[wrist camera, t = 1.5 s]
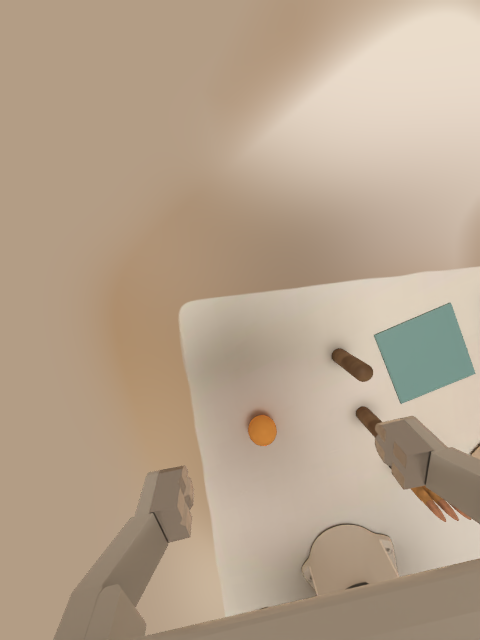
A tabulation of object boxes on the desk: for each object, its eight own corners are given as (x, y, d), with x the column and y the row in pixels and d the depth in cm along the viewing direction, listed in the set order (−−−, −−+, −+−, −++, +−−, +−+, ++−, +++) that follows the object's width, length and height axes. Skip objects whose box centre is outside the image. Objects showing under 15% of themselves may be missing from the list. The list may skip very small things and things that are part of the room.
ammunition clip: (388, 466, 46) (438, 527, 34) (388, 457, 46) (438, 516, 34) (445, 461, 46) (515, 521, 34) (445, 452, 46) (516, 509, 34)
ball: (278, 428, 45) (283, 445, 41) (254, 438, 46) (255, 456, 41) (268, 405, 45) (271, 420, 40) (243, 416, 45) (243, 431, 40)
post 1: (348, 359, 44) (375, 377, 35) (335, 364, 44) (358, 384, 35) (343, 346, 43) (369, 361, 34) (329, 352, 43) (352, 368, 35)
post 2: (372, 416, 45) (404, 448, 36) (359, 421, 45) (387, 454, 36) (367, 404, 45) (398, 433, 36) (353, 410, 45) (381, 440, 36)
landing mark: (474, 373, 44) (475, 373, 43) (400, 403, 45) (401, 403, 44) (449, 302, 42) (450, 302, 42) (373, 335, 43) (374, 335, 43)
